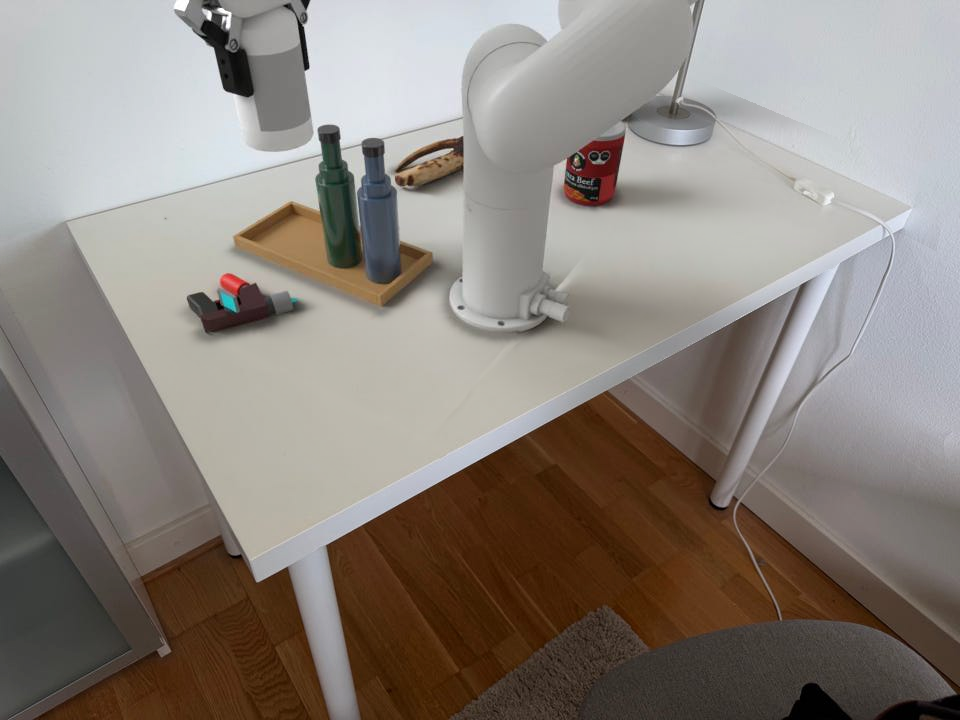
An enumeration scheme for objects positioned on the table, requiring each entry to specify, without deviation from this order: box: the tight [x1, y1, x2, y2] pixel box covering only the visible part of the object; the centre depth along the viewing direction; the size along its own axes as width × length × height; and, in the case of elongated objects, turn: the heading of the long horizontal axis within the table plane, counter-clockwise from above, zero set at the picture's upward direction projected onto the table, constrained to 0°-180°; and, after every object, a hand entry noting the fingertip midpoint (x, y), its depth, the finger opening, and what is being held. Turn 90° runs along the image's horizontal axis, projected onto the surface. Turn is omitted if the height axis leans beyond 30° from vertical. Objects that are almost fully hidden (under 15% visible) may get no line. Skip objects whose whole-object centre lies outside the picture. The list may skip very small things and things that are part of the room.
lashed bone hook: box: [394, 135, 464, 188], centre depth 108 cm, size 9×5×18 cm
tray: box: [232, 200, 434, 307], centre depth 90 cm, size 24×11×2 cm, turn 59°
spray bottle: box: [221, 6, 315, 153], centre depth 62 cm, size 7×7×18 cm
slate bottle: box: [356, 137, 402, 284], centre depth 82 cm, size 5×5×18 cm
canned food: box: [563, 120, 627, 207], centre depth 102 cm, size 8×8×11 cm
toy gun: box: [186, 272, 300, 336], centre depth 81 cm, size 10×12×5 cm
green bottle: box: [314, 124, 363, 268], centre depth 84 cm, size 5×5×18 cm
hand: (268, 78), depth 64 cm, fingers closed on spray bottle, 6 cm apart
